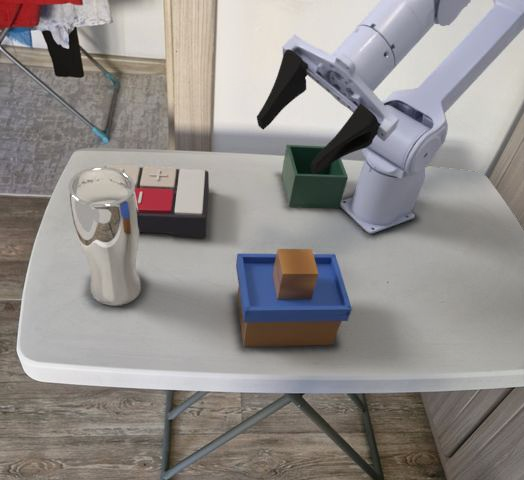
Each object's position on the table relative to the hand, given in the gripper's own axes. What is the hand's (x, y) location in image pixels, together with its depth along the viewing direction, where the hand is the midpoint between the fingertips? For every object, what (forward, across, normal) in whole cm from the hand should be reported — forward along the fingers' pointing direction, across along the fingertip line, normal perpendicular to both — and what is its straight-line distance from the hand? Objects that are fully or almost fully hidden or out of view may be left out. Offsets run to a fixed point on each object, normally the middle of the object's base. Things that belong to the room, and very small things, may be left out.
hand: (286, 145), depth 55 cm
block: (+10, +10, +6) cm, 15 cm away
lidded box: (+13, +11, +11) cm, 21 cm away
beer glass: (+24, -7, +9) cm, 27 cm away
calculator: (+14, -15, +18) cm, 27 cm away
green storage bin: (-6, -2, +28) cm, 28 cm away
